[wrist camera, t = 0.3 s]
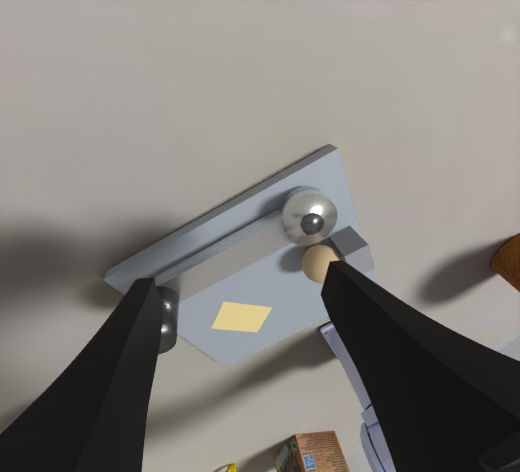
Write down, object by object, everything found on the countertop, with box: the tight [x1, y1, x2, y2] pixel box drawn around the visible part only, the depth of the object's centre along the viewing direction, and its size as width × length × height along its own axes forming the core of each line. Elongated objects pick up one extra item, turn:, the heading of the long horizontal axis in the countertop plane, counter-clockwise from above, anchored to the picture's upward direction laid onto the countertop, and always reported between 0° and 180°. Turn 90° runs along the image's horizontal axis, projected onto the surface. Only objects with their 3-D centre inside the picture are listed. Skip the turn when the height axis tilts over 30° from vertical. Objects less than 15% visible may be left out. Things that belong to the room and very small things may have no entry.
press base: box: [104, 144, 376, 368], centre depth 23 cm, size 18×20×4 cm
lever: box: [154, 186, 338, 354], centre depth 18 cm, size 16×4×5 cm, turn 116°
